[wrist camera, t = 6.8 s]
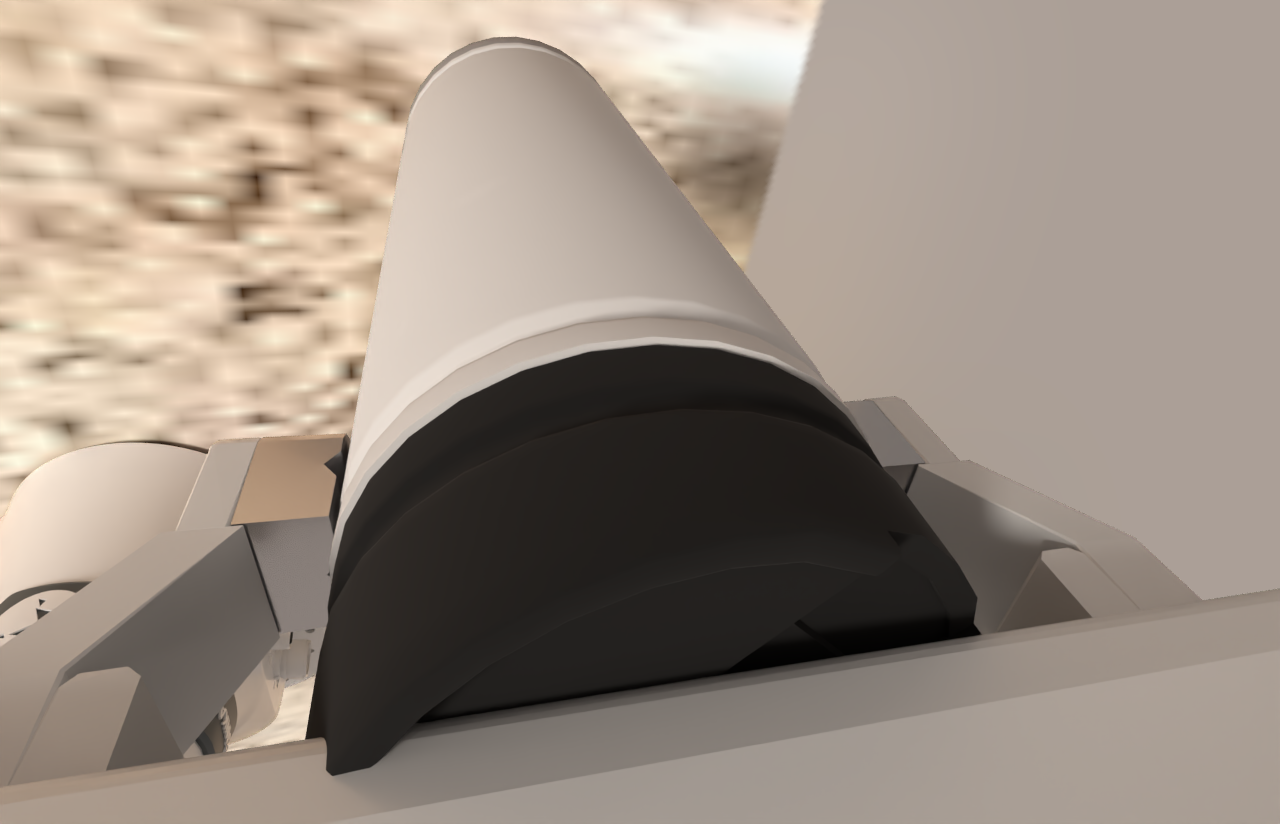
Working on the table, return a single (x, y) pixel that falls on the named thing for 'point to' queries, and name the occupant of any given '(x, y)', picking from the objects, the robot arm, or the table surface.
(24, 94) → the table surface
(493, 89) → the travel mug
